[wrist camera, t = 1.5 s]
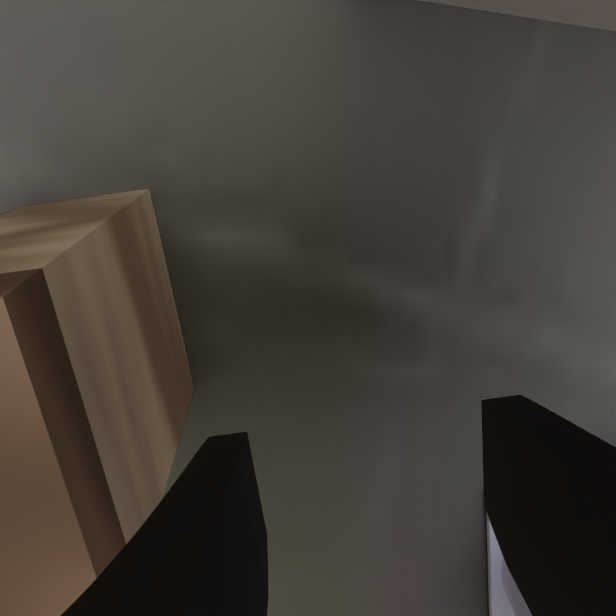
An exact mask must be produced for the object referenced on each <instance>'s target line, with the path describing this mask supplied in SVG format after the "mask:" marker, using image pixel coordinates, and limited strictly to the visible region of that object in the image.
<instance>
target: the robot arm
mask: <svg viewBox="0 0 616 616" xmlns="http://www.w3.org/2000/svg"><path fill="white" fill-rule="evenodd" d="M482 436H483V472H484V506H485V509H486V516H487V554H488V592H489V616H616V447H614V446H612V445H610V444H609V443H607V442H605V441H603V440H601V439H600V438H598V437H596V436H594V435H592V434H591V433H589V432H587V431H585V430H584V429H582V428H580V427H578V426H576V425H575V424H573V423H571V422H569V421H568V420H566V419H564V418H562V417H561V416H559V415H557V414H555V413H554V412H552V411H550V410H548V409H546V408H545V407H543V406H541V405H539V404H537V403H536V402H534V401H532V400H530V399H528V398H526V397H524V396H522V395H516V396H508V397H501V398H493V399H486V400H482ZM267 606H268V553H267V532H266V527H265V522H264V517H263V512H262V507H261V502H260V496H259V491H258V486H257V481H256V476H255V471H254V465H253V460H252V455H251V450H250V445H249V440H248V435H247V432H242V433H235V434H228V435H220V436H213V437H208V439H207V440H206V441H205V442H204V444H203V445H202V446H201V448H200V449H199V450H198V451H197V453H196V454H195V456H194V457H193V458H192V460H191V461H190V462H189V464H188V465H187V467H186V468H185V469H184V471H183V472H182V473H181V475H180V476H179V478H178V479H177V480H176V482H175V483H174V484H173V486H172V487H171V488H170V490H169V491H168V492H167V494H166V495H165V496H164V498H163V499H162V500H161V501H160V503H159V504H158V505H157V507H156V508H155V509H154V510H153V512H152V513H151V514H150V516H149V517H148V518H147V519H146V521H145V522H144V523H143V525H142V526H141V527H140V528H139V530H138V531H137V532H136V533H135V534H134V536H133V537H132V538H131V539H130V540H129V542H128V543H127V544H126V545H125V546H124V547H123V549H122V550H121V551H120V552H119V553H118V554H117V555H116V557H115V558H114V559H113V560H112V561H111V562H110V564H109V565H108V566H107V567H106V568H105V569H104V571H103V572H102V573H101V574H100V575H99V576H98V577H97V578H96V580H95V581H94V582H93V583H92V584H91V585H90V586H89V587H88V588H87V589H86V590H85V591H84V592H83V593H82V594H81V595H80V596H79V597H78V598H77V600H76V601H75V602H74V603H73V604H72V605H71V606H70V607H69V608H68V609H67V610H66V611H65V612H64V613H63V614H62V615H61V616H267Z"/></svg>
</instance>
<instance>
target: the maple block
mask: <svg viewBox="0 0 616 616" xmlns="http://www.w3.org/2000/svg"><path fill="white" fill-rule="evenodd" d="M193 392H194V386H193V381H192V377H191V372H190V368H189V363H188V359H187V354H186V350H185V346H184V341H183V337H182V332H181V328H180V323H179V319H178V314H177V310H176V305H175V301H174V297H173V292H172V288H171V283H170V279H169V274H168V270H167V265H166V261H165V257H164V252H163V248H162V243H161V239H160V234H159V230H158V225H157V221H156V217H155V212H154V208H153V203H152V199H151V194H150V190H149V189H143V190H136V191H128V192H121V193H114V194H107V195H99V196H92V197H85V198H78V199H70V200H63V201H56V202H49V203H41V204H34V205H27V206H20V207H18V208H15V209H13V210H11V211H9V212H6V213H4V214H2V215H0V616H61V615H62V614H63V613H64V612H65V611H66V610H67V609H68V608H69V607H70V606H71V605H72V604H73V603H74V602H75V601H76V600H77V598H78V597H79V596H80V595H81V594H82V593H83V592H84V591H85V590H86V589H87V588H88V587H89V586H90V585H91V584H92V583H93V582H94V581H95V580H96V578H97V577H98V576H99V575H100V574H101V573H102V572H103V571H104V569H105V568H106V567H107V566H108V565H109V564H110V562H111V561H112V560H113V559H114V558H115V557H116V555H117V554H118V553H119V552H120V551H121V550H122V549H123V547H124V546H125V545H126V544H127V543H128V542H129V540H130V539H131V538H132V537H133V536H134V534H135V533H136V532H137V531H138V530H139V528H140V527H141V526H142V525H143V523H144V522H145V521H146V519H147V518H148V517H149V516H150V514H151V513H152V512H153V510H154V509H155V508H156V507H157V505H158V504H159V503H160V501H161V500H162V498H163V495H164V491H165V488H166V485H167V481H168V478H169V474H170V471H171V467H172V464H173V461H174V457H175V454H176V450H177V447H178V444H179V440H180V437H181V433H182V430H183V427H184V423H185V420H186V416H187V413H188V410H189V406H190V403H191V399H192V396H193Z"/></svg>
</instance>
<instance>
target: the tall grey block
mask: <svg viewBox="0 0 616 616" xmlns="http://www.w3.org/2000/svg"><path fill="white" fill-rule="evenodd" d="M418 1H424V2H431V3H437V4H443V5H450V6H456V7H462V8H469V9H475V10H481V11H488V12H494V13H500V14H507V15H513V16H519V17H526V18H532V19H538V20H545V21H551V22H557V23H564V24H570V25H576V26H583V27H589V28H595V29H602V30H608V31H614V32H616V0H418Z"/></svg>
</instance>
